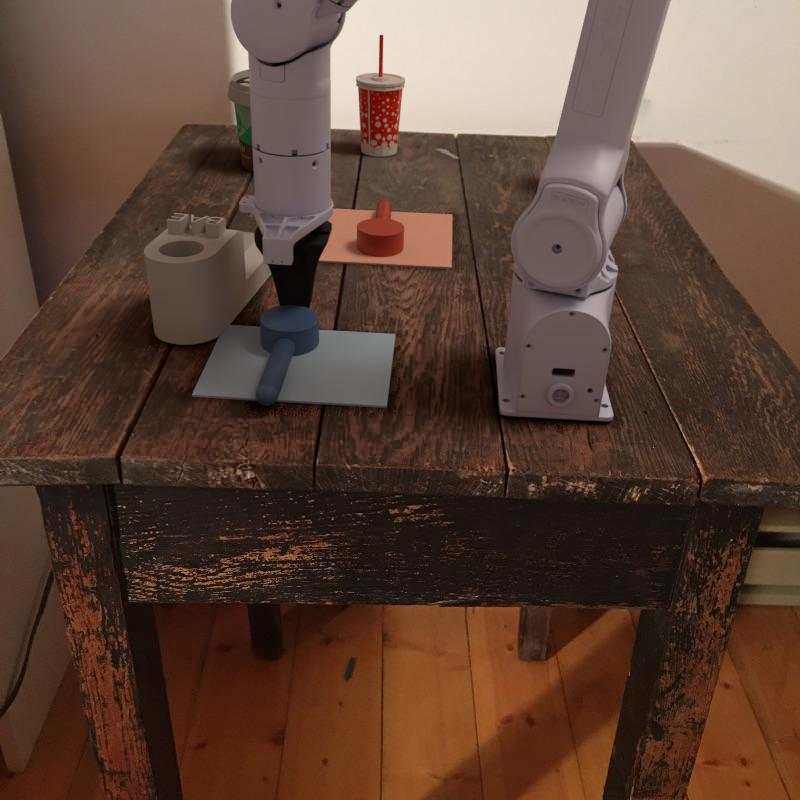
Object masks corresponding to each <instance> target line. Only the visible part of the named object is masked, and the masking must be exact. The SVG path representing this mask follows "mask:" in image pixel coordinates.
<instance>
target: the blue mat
mask: <svg viewBox="0 0 800 800" xmlns="http://www.w3.org/2000/svg"><path fill="white" fill-rule="evenodd" d="M396 336H397V335H396V333H387V332H386V333H383V332H367V331H348V330H330V329H319V344H318V346H317V347H316V348H315V349H314V350H313V351H311V352H308V353H306V354H302V355H297V356H293V357H292V359H291V362H290V365H289V368H288V371H287V374H286V377H285V379H284V382H283V385H282V388H281V391H280V394H279V396H278V399H277V401H276V402H275V403H289V404H290V403H291V404H305V405H307V404H308V405H324V406H325V405H327V406H341V407H342V406H344V407H358V408H359V407H362V408H378V409H380V408H381V409H388V401H389V392H390V384H391V377H392V369H393V368H392V367H393V359H394V354H395V353H394V351H395V344H396ZM270 354H271V353H270V352H268V351H266V350H265V349H264V348H263V347H262V345H261V336H260V326H256V325H239V324H238V325H237V324H230V325H229V326H228V328H227V329H226V330H225V331H224V332H223V334H221V335H220V336H219V337H217V340H216V342H215V344H214V347H213V349H212V351H211V353H210V356H209V357H208V359H207V362H206V364H205V366H204V367H203V370H202V372H201V374H200V376H199V378H198V380H197V383H196V385H195V387H194V389H193V391H192V394H191V398H204V399H219V400H220V399H221V400H237V401H252V402H253V401H254V402H255V401H256V402H258V401H257V399H256V396H255V394H256V390H257V387H258V385H259V382H260V380H261V377H262V375H263V372H264V370H265V367H266V365H267V362H268V360H269V357H270Z"/></svg>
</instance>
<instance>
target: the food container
mask: <svg viewBox="0 0 800 800" xmlns="http://www.w3.org/2000/svg"><path fill="white" fill-rule="evenodd" d="M227 99H228V100H229V101H231V102H233V107H234V115H235V121H236V128H237V136H238V144H239V151H240V159H241V165H242V167H243V168H245V169H246V170H248V171H250V172H253V173H254V169H253V150H252V129H251V107H250V85H249V68H248V69H244V70H240V71H237V72H236V73H234V74H232V75H231V79H230V81H229V83H228V89H227Z"/></svg>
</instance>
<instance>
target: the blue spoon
mask: <svg viewBox="0 0 800 800" xmlns="http://www.w3.org/2000/svg"><path fill="white" fill-rule="evenodd" d="M259 327H260V336H261V345H262V347H263V348H264V349H265V350H266V351H268V352H270V353H271V354H270V357H269V360H268V362H267V365H266V367H265V370H264V372H263V375H262V377H261V380H260V382H259V385H258V387H257V390H256V394H255V396H256V399H257V401H256V402H258V404H259V405H261V406H264V407H270V406H273V405H274V404H275V403H277V402H276V401H277V399H278V396H279V394H280V391H281V388H282V385H283V382H284V379H285V377H286V374H287V371H288V368H289V365H290V362H291V359H292V357H293V356H297V355H302V354H306V353H308V352H311V351H313V350H314V349H315V348H316V347H317V346H318V344H319V330H320V317H319V314H318V312H316V311H315V310H313V309H312V308H311V307H309V308H307V307H304V306H298V305H282V306H280V305H277V306H273V307H270V308H268V309H266V310H265V311H263V312H262V313H261V314H260V316H259Z"/></svg>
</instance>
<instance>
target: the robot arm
mask: <svg viewBox="0 0 800 800" xmlns="http://www.w3.org/2000/svg"><path fill="white" fill-rule="evenodd" d="M358 1H359V0H231V3H230V21H231V25H232V29H233V32H234V35H235V36H236V38H237V40H238V41H239V43H240V45H241V46H242V47H243V48H244V49H245V51H246V52H247V59H248V69H249V85H250V107H251V129H252V150H253V169H254V172H253V190H254V195H251V194H250V195H243V196H242V197H241V198H240V200H239V203H238V207H239V208H238V209H239V212H240V213H244V214H251V215H252V216H253V217H254V219H255V221H256V224H257V227H256V229H255V231H254V232H253V233H254V240H255V244H256V247H257V248H258V249H259V251H260V252H261V254H262V255H263V263H264V264H268V266H269V269H270V271H271V278H272V280H273V283H274V288H275V291H276V296H277V300H278V305H279V306H282V305H298V306H304V307H307V308H311V307H310V306H311V303H312V299H313V294H314V287H315V281H316V276H317V270H318V266H319V263H320V262H319V258H320V256H321V254H322V253H323V251H324V249H325V247H326V245H327V243H328V240H329V237H330V234H331V231H332V224H331V222H329V221H327V220H328V219H330V218H331V216H332V215H333V208H334V201H333V199H332V135H331V134H332V132H331V131H332V121H331V120H332V109H331V108H332V81H331V49H332V45H333V44H334V42H335V41H336V39H337V38H338V37H339V35H340V34H341V32H342V30H343V28H344V25H345V22H346V16H347V12H348V11H350V10H351V9H352V8H353V6H354V5H356V3H357V2H358ZM671 1H672V0H588V1H587V6H586V11H585V15H584V19H583V23H582V27H581V31H580V35H579V39H578V42H577V48H576V50H575V51H576V52H575V56H574V61H573V63H572V69H571V72H570V76H569V81H568V84H567V89H566V93H565V97H564V101H563V105H562V110H561V113H560V117H559V122H558V126H557V130H556V134H555V137H554V140H553V143H552V145H551V148H550V151H549V153H548V155H547V158H546V161H545V164H544V167H543V169H542V172H541V174H540V178H539V181H538V186H537V190H536V193H535V196H534V198H533V200H532V202H531V203H530V204H529V205H528V206H527V207H526V209H525V210H523V212H522V213H521V214H520V215H519V216H518V219H517V220H516V222H515V224H514V226H513V229H512V231H511V237H510V250H511V255H512V258H513V270H512V278H511V287H510V288H511V289H510V298H509V308H508V318H507V327H506V334H505V346H504V347H503V346H500V347H499V346H498V347H497V348H495V351H494V352H495V353H494V357H495V367H496V369H495V370H496V383H497V396H498V397H497V399H498V410H499V411H498V412H499V413H500V415H502V416H503V417H517V418H535V419H536V418H537V419H551V420H553V419H554V420H569V421H571V420H573V421H590V422H607V423H609V422H611V421H613V420H614V416H615V415H614V410H613V407H612V404H611V399H610V396H609V392H608V388H607V384H606V379H607V375H608V374H607V373H608V368H609V363H610V357H611V351H612V336H611V332H610V328H609V326H610V319H611V313H612V308H613V303H614V297H615V290H616V286H617V279H618V274H619V273H618V272H619V268H618V265H617V264H616V263H615V258H614V256H613V254H612V250H611V249H610V248H611V246H612V244H613V241H614V239H615V237H616V236H617V233H618V231H619V230H620V228H621V227H622V225H623V224H624V221H625V220H626V215H627V211H628V197H627V193H626V189H625V182H624V178H625V171H626V168H627V163H628V160H629V155H630V148H631V140H632V136H633V134H634V133H633V132H634V130H635V125H636V122H637V119H638V115H639V112H640V108H641V105H642V101H643V99H644V94H645V92H646V88H647V85H648V81H649V78H650V74H651V71H652V67H653V63H654V60H655V58H656V57H655V56H656V53H657V49H658V46H659V43H660V39H661V36H662V32H663V29H664V26H665V22H666V20H667V16H668V12H669V8H670V4H671Z"/></svg>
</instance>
